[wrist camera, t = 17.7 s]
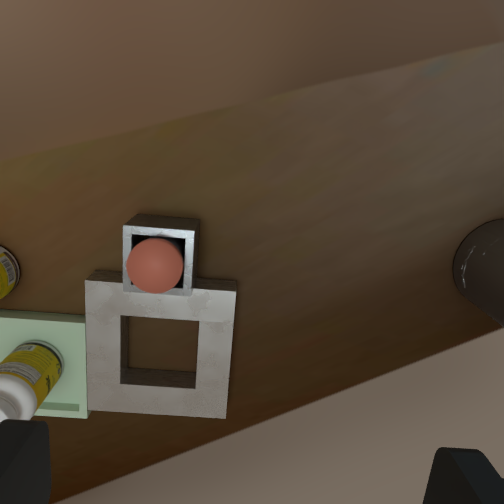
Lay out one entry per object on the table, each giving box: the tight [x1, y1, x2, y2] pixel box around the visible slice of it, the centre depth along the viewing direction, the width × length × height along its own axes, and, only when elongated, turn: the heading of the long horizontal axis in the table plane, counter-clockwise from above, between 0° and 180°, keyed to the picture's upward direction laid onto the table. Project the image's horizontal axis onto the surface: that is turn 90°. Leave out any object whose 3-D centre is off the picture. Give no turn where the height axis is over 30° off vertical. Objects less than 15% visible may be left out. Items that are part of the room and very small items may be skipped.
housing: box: [85, 214, 237, 419], centre depth 41 cm, size 14×20×5 cm
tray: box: [0, 309, 92, 418], centre depth 44 cm, size 11×11×2 cm
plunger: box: [126, 236, 185, 294], centre depth 38 cm, size 5×5×6 cm
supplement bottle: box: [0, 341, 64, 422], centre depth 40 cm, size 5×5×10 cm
